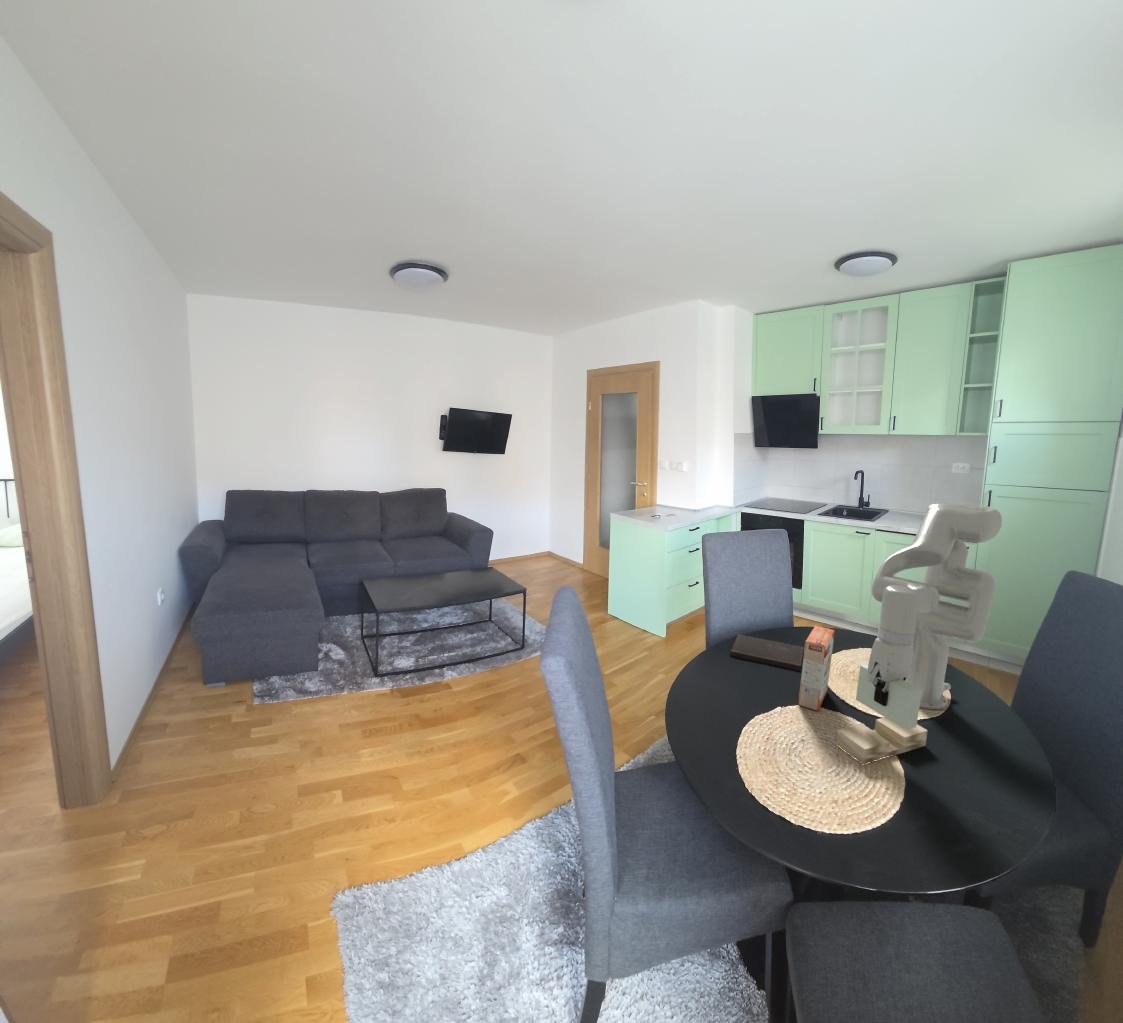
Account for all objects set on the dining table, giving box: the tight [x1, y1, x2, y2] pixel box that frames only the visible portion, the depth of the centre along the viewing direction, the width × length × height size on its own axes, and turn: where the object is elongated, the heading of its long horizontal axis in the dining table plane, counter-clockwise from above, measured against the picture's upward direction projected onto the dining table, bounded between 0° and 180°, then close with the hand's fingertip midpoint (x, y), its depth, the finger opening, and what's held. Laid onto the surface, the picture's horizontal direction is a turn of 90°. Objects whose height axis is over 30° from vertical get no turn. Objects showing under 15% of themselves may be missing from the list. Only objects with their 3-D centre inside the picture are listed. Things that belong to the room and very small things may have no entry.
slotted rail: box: [835, 716, 928, 765], centre depth 131 cm, size 22×8×4 cm, turn 109°
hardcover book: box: [729, 633, 805, 672], centre depth 181 cm, size 16×23×2 cm
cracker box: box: [798, 625, 836, 712], centre depth 151 cm, size 14×6×21 cm, turn 142°
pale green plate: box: [855, 663, 922, 730], centre depth 128 cm, size 4×14×10 cm, turn 20°
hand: (886, 701), depth 129 cm, fingers closed on pale green plate, 3 cm apart
